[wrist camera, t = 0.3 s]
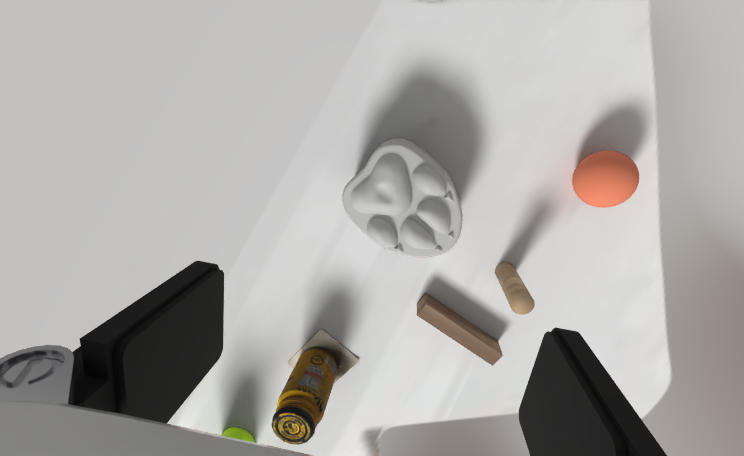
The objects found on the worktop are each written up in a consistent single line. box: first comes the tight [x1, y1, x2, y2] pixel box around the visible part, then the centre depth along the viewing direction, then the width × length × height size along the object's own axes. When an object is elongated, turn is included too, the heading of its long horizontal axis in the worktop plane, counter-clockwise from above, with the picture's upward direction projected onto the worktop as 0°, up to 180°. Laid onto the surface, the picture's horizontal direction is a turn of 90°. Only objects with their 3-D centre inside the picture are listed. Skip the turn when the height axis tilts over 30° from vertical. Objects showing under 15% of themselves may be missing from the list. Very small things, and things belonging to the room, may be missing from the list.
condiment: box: [272, 329, 359, 444], centre depth 49 cm, size 7×8×12 cm
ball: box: [572, 151, 639, 207], centre depth 39 cm, size 6×6×6 cm
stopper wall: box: [417, 293, 503, 366], centre depth 49 cm, size 2×12×3 cm, turn 57°
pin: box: [495, 262, 534, 314], centre depth 43 cm, size 2×2×8 cm
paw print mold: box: [343, 138, 462, 258], centre depth 41 cm, size 10×13×9 cm
